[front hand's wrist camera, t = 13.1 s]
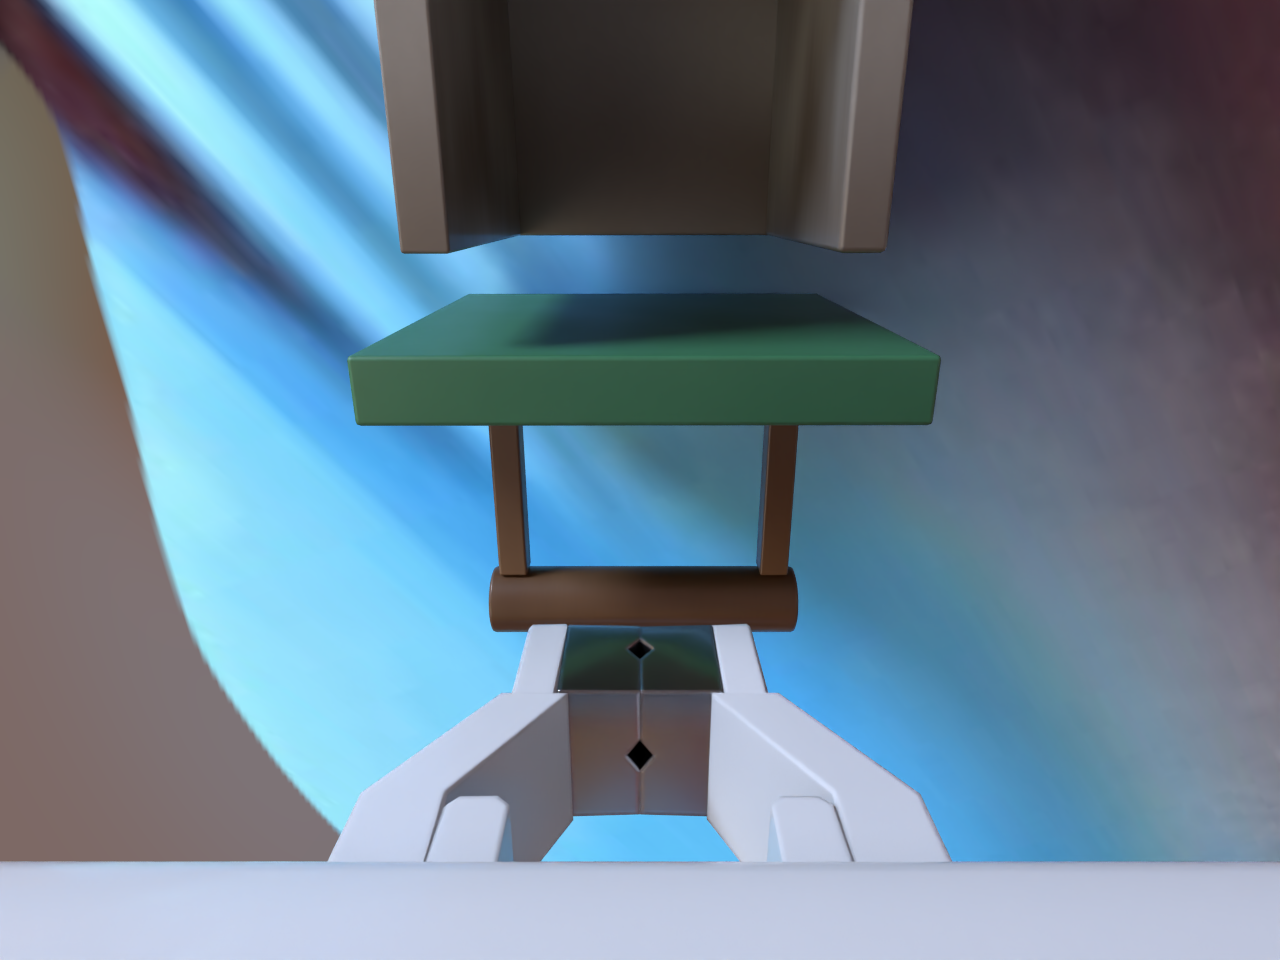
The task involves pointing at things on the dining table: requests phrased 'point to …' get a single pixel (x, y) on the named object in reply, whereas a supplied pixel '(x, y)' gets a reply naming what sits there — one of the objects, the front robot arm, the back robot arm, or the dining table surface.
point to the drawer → (643, 205)
